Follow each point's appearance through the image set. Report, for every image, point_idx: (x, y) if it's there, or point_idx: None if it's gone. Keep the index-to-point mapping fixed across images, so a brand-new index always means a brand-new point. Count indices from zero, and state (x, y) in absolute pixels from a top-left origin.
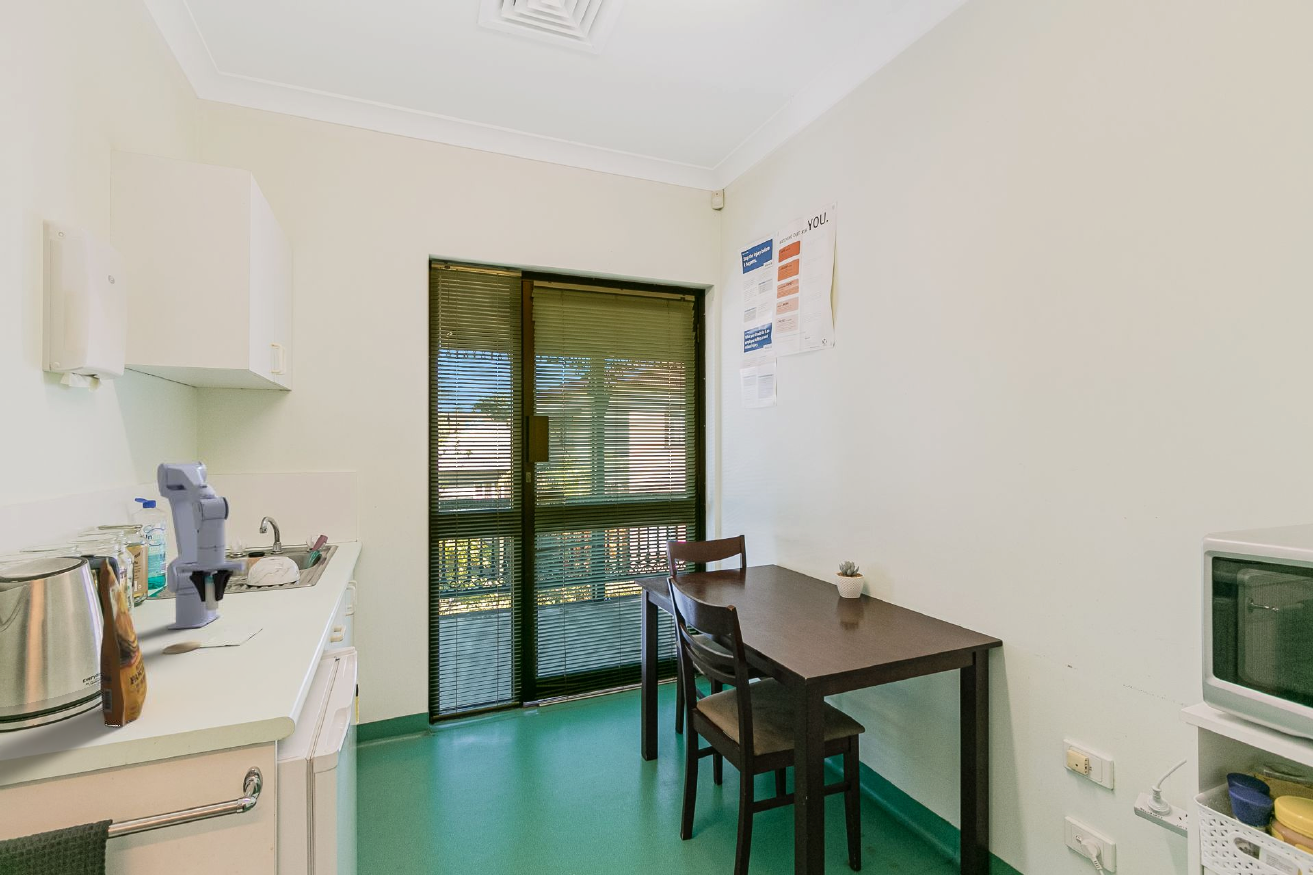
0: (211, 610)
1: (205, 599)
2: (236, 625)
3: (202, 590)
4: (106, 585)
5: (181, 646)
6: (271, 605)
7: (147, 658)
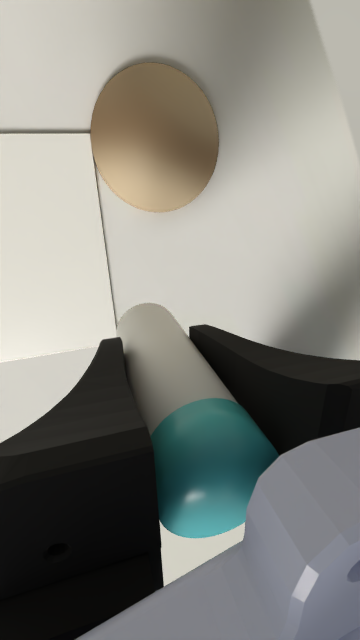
0: None
1: (188, 337)
2: None
3: (227, 354)
4: None
5: (164, 148)
6: None
7: (228, 26)
